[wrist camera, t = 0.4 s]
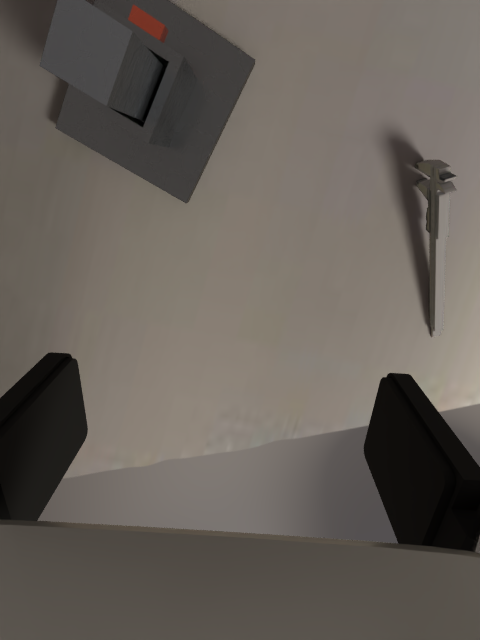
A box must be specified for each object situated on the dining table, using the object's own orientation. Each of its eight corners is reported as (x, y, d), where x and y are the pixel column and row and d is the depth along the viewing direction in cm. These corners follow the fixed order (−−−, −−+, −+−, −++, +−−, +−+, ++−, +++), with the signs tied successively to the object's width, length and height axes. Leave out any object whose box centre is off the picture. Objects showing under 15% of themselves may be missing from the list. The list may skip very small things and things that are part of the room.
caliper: (412, 163, 36) (443, 163, 31) (423, 159, 36) (456, 159, 30) (430, 335, 44) (457, 361, 38) (439, 333, 44) (467, 359, 38)
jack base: (113, -33, 30) (63, -105, 22) (255, 64, 33) (256, 30, 25) (62, 129, 36) (6, 118, 27) (188, 201, 38) (171, 212, 30)
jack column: (137, 56, 31) (60, -19, 18) (180, 83, 32) (135, 30, 19) (119, 104, 33) (37, 66, 20) (161, 129, 34) (107, 108, 21)
